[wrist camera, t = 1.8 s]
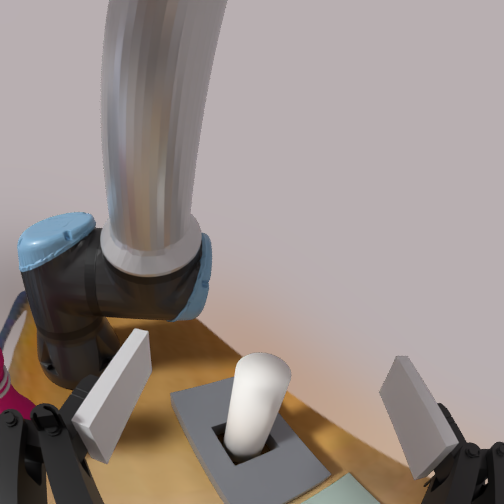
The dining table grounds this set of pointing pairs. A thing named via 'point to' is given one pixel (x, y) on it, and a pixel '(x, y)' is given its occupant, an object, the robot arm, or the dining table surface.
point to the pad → (343, 493)
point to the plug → (254, 404)
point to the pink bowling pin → (12, 394)
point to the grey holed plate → (255, 470)
